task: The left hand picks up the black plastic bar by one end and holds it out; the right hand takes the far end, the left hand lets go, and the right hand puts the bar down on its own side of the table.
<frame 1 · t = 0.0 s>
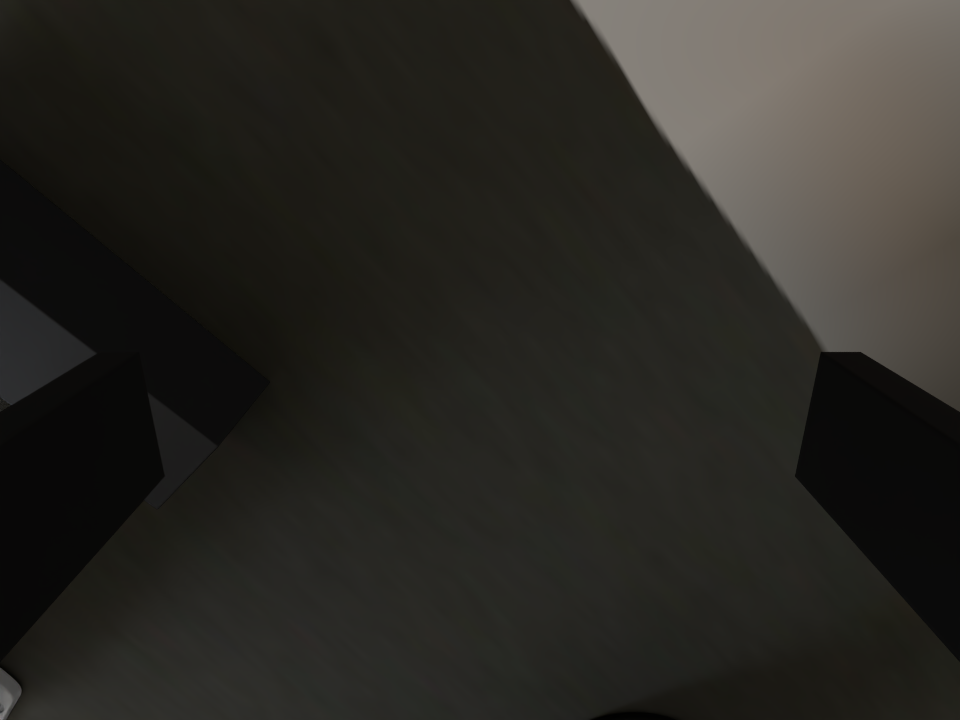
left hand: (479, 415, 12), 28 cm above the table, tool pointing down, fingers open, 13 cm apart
bar: (94, 289, 40), on the table
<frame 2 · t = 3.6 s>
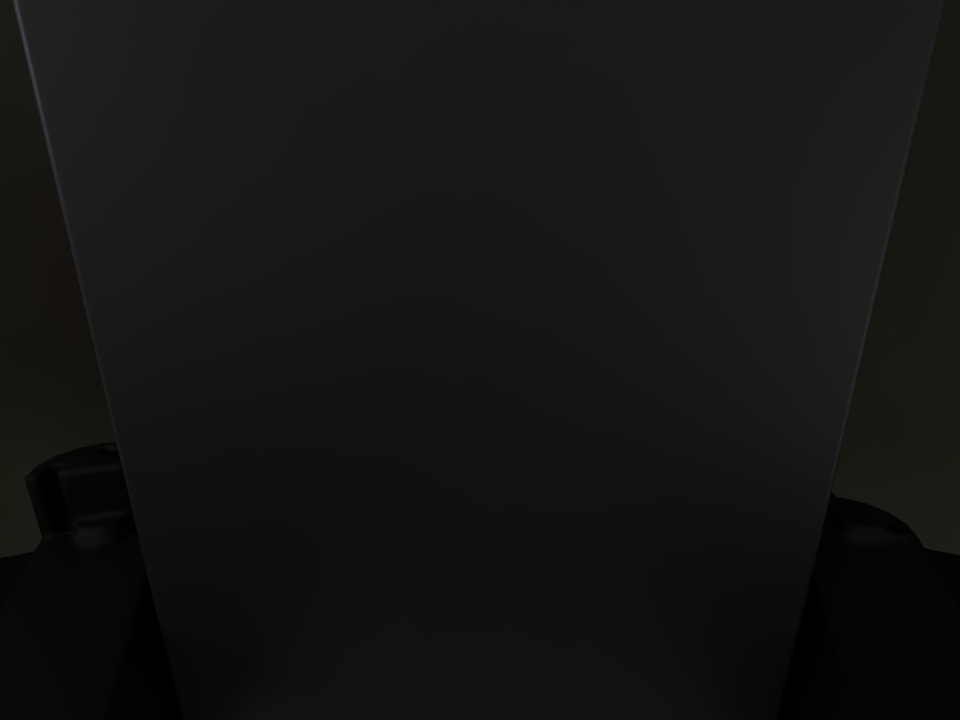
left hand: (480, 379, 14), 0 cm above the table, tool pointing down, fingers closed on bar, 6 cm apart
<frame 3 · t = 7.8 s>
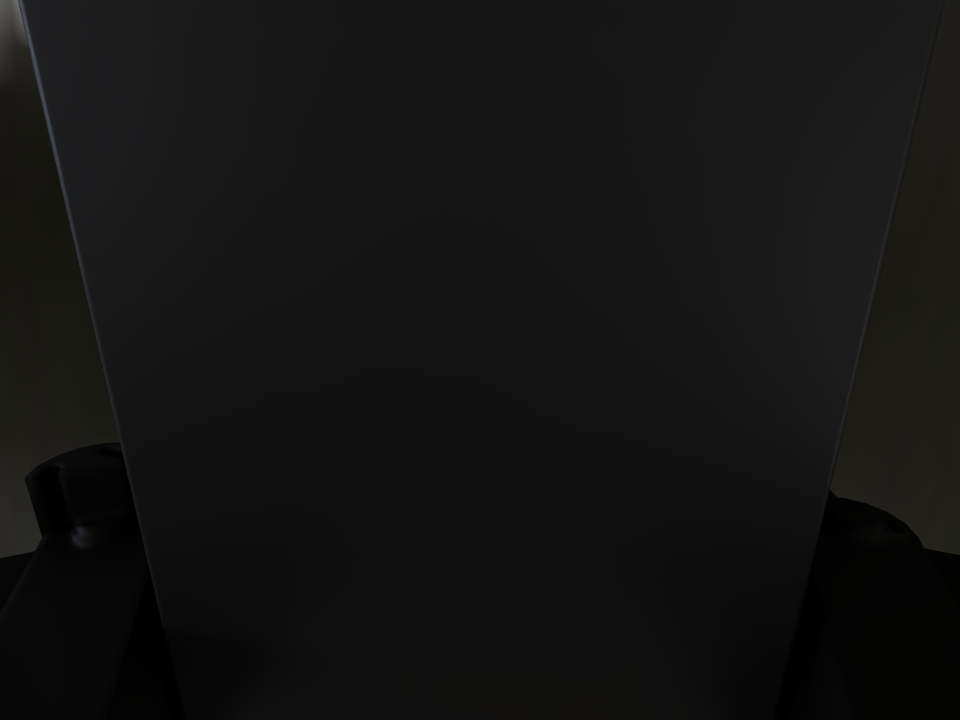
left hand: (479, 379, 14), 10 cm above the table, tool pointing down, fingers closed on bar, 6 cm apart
when the left hand's fingers open (10 cm above the table, at t = 8.8 s): bar stays where it is, held by the right hand.
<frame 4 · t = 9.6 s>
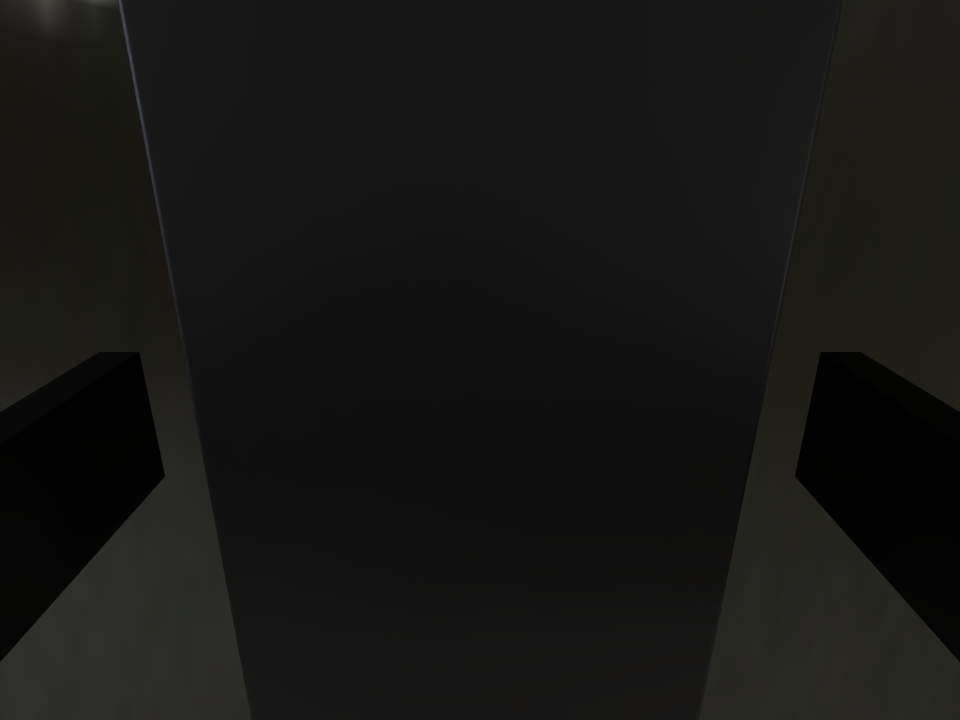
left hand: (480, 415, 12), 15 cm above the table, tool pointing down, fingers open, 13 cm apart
when the right hand's fingers open (5 cm above the table, at t = 15.2 s): bar drops 1 cm, on the table.
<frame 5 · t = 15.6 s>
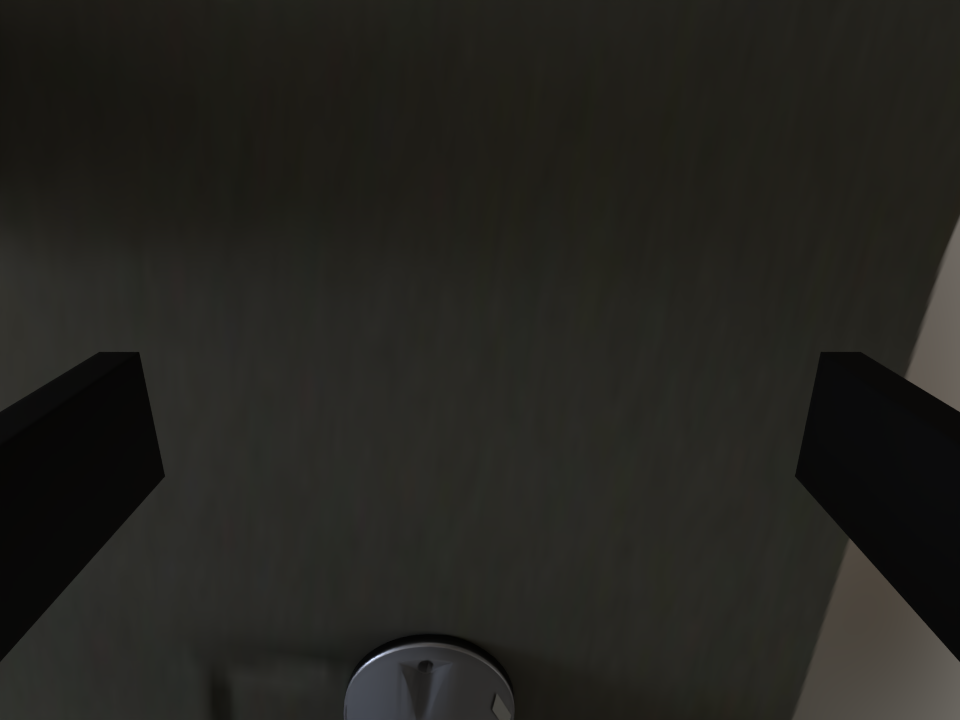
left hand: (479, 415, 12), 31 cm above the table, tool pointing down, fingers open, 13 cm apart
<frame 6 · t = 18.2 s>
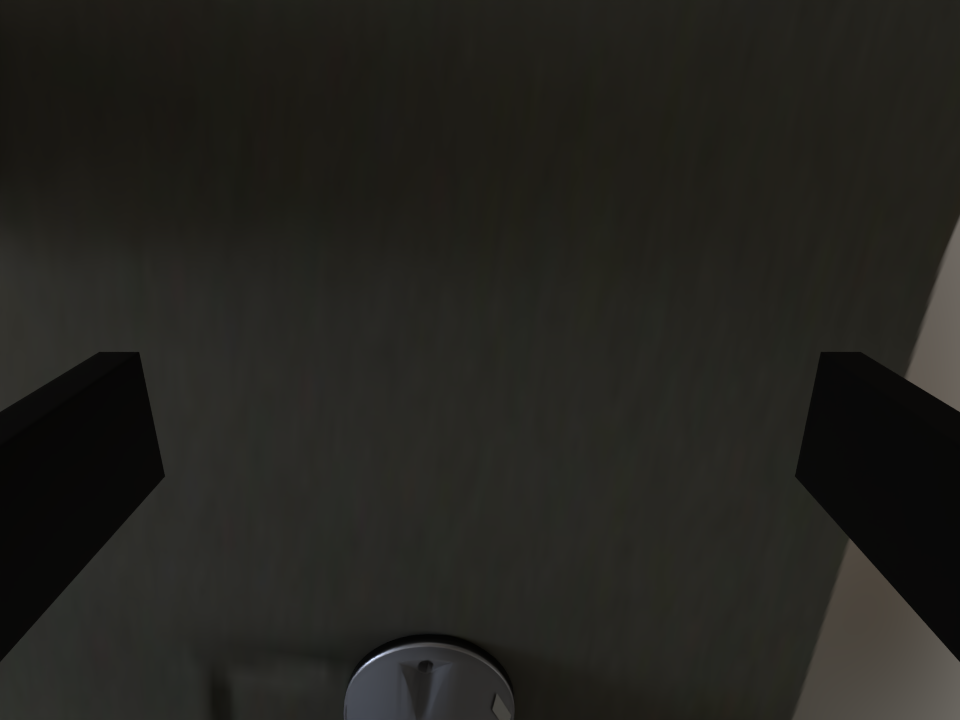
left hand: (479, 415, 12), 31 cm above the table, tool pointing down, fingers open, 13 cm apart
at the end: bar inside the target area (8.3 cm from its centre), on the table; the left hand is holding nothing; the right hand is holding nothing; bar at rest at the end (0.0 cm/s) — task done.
